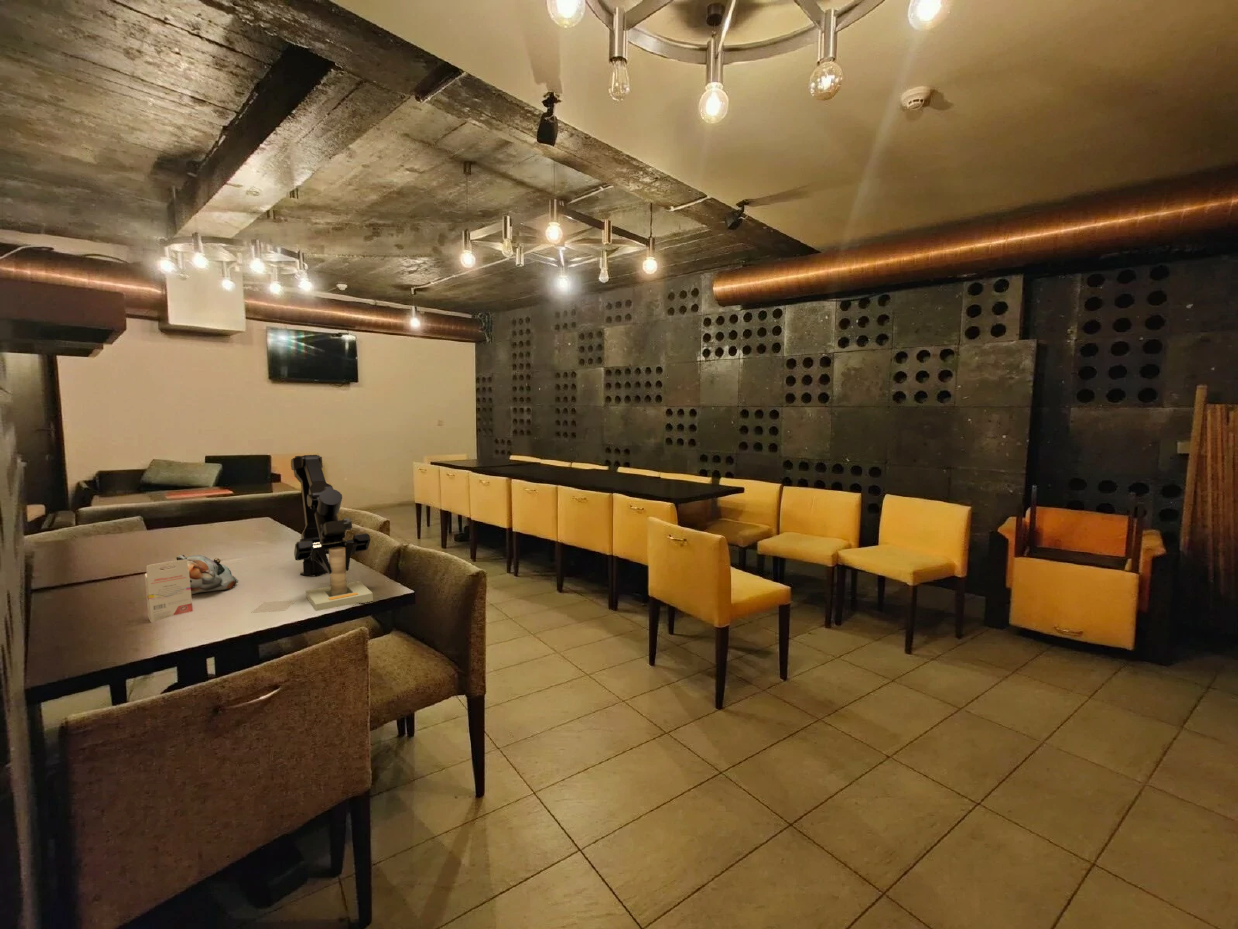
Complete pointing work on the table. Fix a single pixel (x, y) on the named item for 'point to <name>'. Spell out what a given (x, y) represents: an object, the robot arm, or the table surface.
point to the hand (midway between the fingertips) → (339, 571)
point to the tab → (274, 606)
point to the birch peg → (337, 571)
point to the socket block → (338, 596)
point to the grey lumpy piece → (208, 574)
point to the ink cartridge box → (168, 590)
